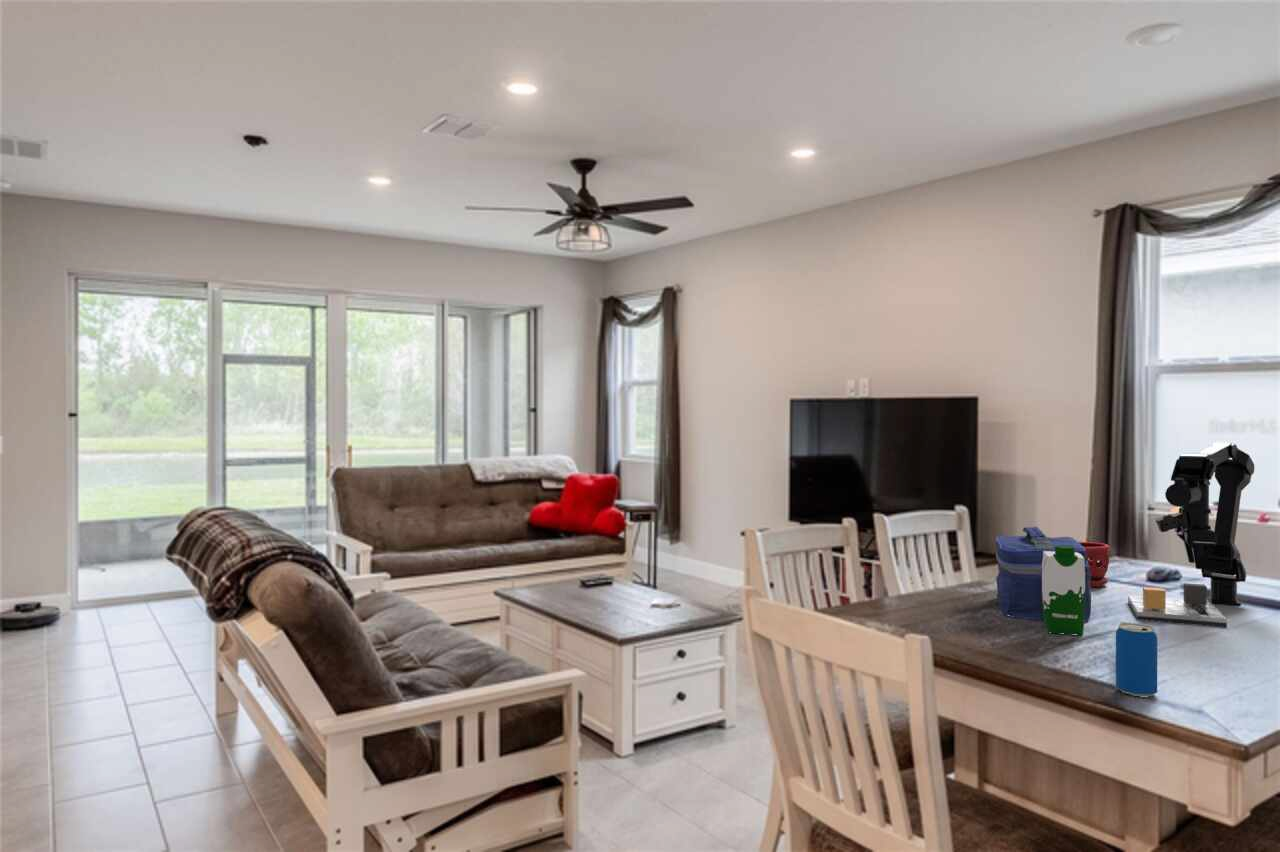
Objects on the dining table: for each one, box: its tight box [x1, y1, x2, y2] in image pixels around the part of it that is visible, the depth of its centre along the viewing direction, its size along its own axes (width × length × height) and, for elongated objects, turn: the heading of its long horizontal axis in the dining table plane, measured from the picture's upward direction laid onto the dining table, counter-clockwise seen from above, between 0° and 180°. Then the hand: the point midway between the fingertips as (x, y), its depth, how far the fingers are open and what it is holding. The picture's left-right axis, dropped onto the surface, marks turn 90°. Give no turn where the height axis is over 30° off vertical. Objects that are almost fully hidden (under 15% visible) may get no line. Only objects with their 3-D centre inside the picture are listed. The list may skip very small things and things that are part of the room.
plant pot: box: [1077, 541, 1110, 588], centre depth 243 cm, size 13×13×12 cm
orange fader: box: [1142, 586, 1167, 611], centre depth 204 cm, size 3×4×6 cm
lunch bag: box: [995, 526, 1092, 622], centre depth 215 cm, size 31×21×20 cm
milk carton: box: [1042, 545, 1085, 636], centre depth 192 cm, size 9×9×20 cm
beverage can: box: [1115, 622, 1158, 697], centre depth 150 cm, size 6×6×12 cm
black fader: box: [1183, 582, 1208, 609], centre depth 208 cm, size 3×4×6 cm
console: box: [1127, 594, 1228, 628], centre depth 207 cm, size 20×18×2 cm
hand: (1195, 565), depth 208 cm, fingers open, 9 cm apart
